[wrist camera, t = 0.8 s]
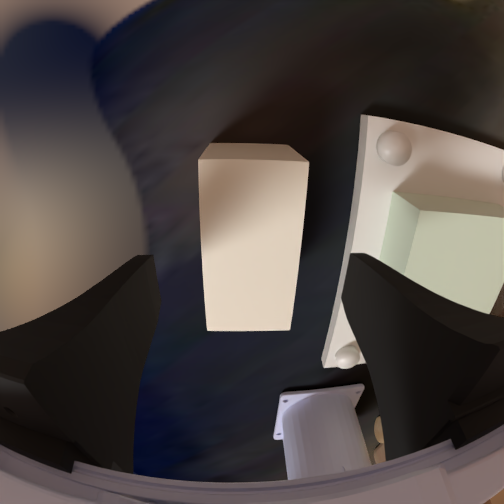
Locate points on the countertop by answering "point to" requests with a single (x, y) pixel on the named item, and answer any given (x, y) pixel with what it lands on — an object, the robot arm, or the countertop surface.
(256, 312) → the cream brick
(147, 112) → the countertop surface
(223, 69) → the countertop surface
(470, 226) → the white studded slab
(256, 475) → the countertop surface
